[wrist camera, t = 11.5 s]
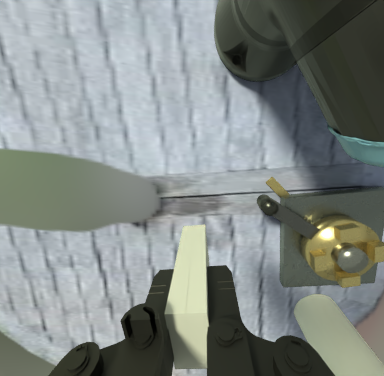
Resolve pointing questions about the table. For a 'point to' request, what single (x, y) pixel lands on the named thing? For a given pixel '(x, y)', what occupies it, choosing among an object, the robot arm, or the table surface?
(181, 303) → the robot arm
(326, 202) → the collar plate
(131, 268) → the table surface
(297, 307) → the cylinder container
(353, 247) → the ring nut
